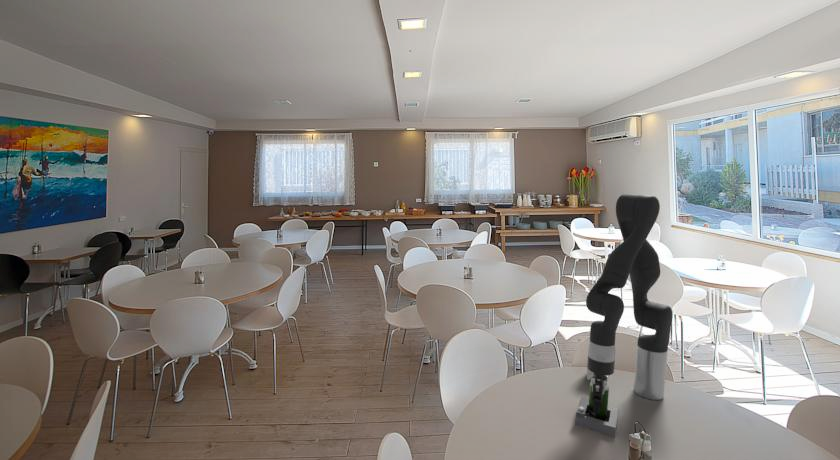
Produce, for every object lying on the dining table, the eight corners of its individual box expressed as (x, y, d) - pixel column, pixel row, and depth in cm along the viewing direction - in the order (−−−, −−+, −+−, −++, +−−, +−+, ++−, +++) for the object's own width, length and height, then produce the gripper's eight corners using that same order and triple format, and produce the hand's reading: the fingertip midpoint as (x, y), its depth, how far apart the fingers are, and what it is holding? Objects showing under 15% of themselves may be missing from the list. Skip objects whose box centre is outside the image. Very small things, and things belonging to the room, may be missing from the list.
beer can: (600, 426, 119) (602, 389, 117) (584, 417, 123) (586, 381, 122) (610, 420, 121) (612, 384, 120) (594, 412, 126) (596, 377, 125)
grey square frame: (580, 408, 130) (581, 393, 129) (617, 418, 124) (618, 403, 124) (575, 425, 120) (576, 410, 120) (615, 437, 115) (616, 421, 114)
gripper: (612, 368, 112) (609, 423, 114) (616, 350, 124) (613, 399, 126) (584, 362, 116) (581, 415, 118) (591, 345, 128) (588, 393, 130)
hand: (598, 407), depth 122 cm, fingers closed on beer can, 5 cm apart
